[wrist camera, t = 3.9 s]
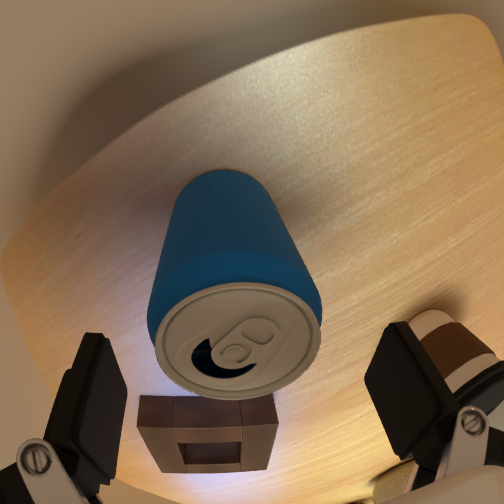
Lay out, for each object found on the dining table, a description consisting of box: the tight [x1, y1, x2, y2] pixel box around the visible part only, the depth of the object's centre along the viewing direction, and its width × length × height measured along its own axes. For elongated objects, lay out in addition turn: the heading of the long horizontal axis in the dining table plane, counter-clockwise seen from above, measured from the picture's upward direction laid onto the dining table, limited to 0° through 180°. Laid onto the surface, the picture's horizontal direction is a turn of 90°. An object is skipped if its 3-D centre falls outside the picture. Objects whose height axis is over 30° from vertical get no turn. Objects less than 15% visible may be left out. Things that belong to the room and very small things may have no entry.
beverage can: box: [147, 170, 322, 400], centre depth 15 cm, size 6×6×12 cm
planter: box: [373, 460, 415, 504], centre depth 52 cm, size 21×21×19 cm
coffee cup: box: [408, 309, 504, 416], centre depth 24 cm, size 11×11×12 cm
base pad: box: [137, 393, 279, 473], centre depth 31 cm, size 14×14×4 cm
